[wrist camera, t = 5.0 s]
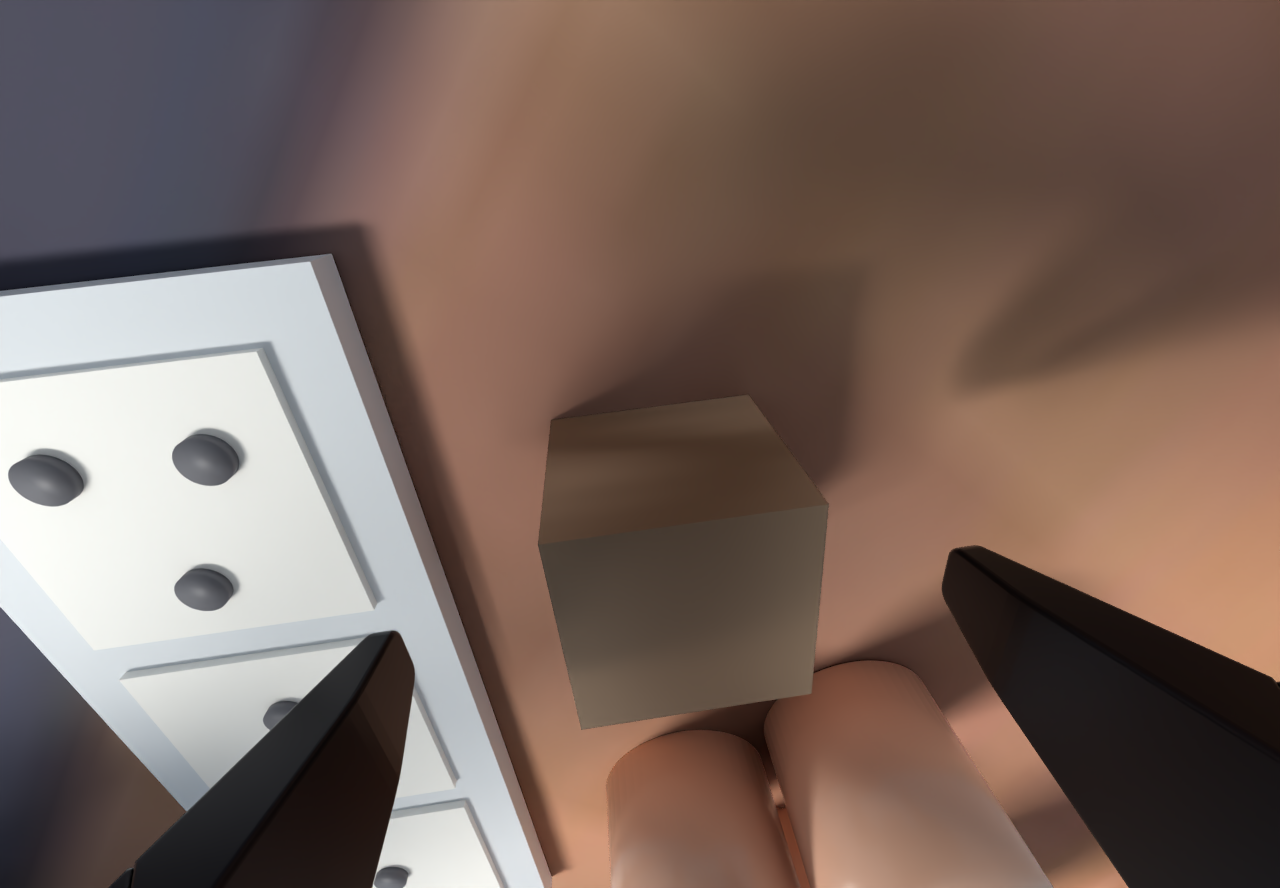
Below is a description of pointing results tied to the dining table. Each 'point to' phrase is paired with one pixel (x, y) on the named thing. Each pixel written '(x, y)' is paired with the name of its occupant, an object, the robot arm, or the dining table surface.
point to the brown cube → (680, 560)
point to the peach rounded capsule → (695, 816)
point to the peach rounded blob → (888, 788)
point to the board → (238, 541)
